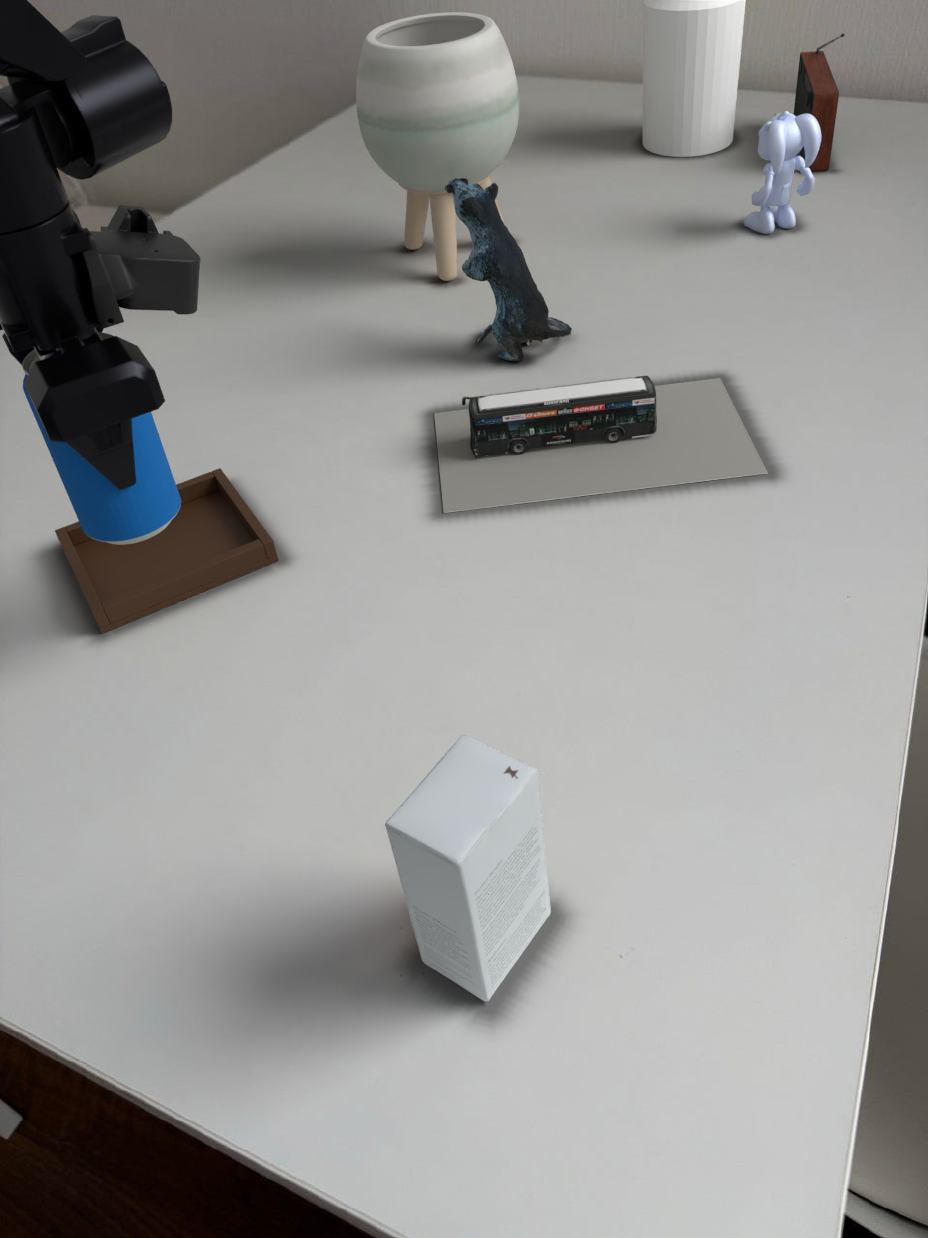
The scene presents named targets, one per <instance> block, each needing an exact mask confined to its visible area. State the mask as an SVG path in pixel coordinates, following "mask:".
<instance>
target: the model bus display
mask: <svg viewBox="0 0 928 1238" xmlns="http://www.w3.org/2000/svg"><path fill="white" fill-rule="evenodd" d="M467 400H469V402H468V408H466V409H465V408H464V409H459V410H451V411H450V410H449V411H443V412H434V413H433V414H434V415H433V416H434V426H435V438H436V448H437V459H438V469H439V470H438V471H439V481H440V490H441V501H442V512H443V514H447V513H455V512H462V511H471V510H472V511H473V510H480V509H488V508H495V507H504V506H514V505H521V504H528V503H538V502H545V501H546V502H547V501H554V500H563V499H570V498H579V497H586V496H592V495H593V496H594V495H603V494H611V493H619V492H627V491H635V490H643V489H652V488H659V487H668V486H675V485H677V486H678V485H684V484H691V483H692V484H693V483H699V482H709V481H715V480H716V481H717V480H724V479H725V480H726V479H734V478H740V477H741V478H742V477H749V476H757V475H764V474H768V473H769V471H768V470H767V467H766V466H765V464H764V462H763V460H762V458H761V456H760V455H759V452H758V450H757V448H756V446H755V445H754V442H753V440H752V439H751V437H750V435H749V433H748V431H747V429H746V427H745V424H744V422H743V421H742V419H741V417H740V415H739V413H738V411H737V408H736V407H735V404H734V403H733V401H732V399H731V397H730V395H729V392H728V391H727V388H726V386H725V385H724V383H723V381H722V379H721V377H716V378H709V379H708V378H707V379H700V380H693V381H685V382H677V383H676V382H675V383H669V384H668V383H666V384H661V385H660V384H659V385H655V384H654V382H653V381H652V379H651V378H650V376H649V375H640V376H628V377H622V378H621V377H620V378H612V379H604V380H596V381H590V382H589V381H588V382H580V383H572V384H564V385H557V386H556V385H555V386H548V387H541V388H533V389H524V390H517V391H509V392H501V393H493V394H486V395H479V396H463V397H462V398H461V405H462V406H466V401H467Z"/></svg>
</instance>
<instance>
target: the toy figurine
mask: <svg viewBox="0 0 928 1238" xmlns="http://www.w3.org/2000/svg"><path fill="white" fill-rule="evenodd" d="M793 114H794V113H793ZM793 114H792V113H791V112H789V111H788V110H785V111H782V112H779V113H775V114H774V115H771V116H770V117H769V119H768V120H767V121H766V122H765V123H763V125H762V126H761V128H760V129H759V130H758V134H757V135H758V146H757V154H758V156H759V157H760V158H761V159H763V160H766V161H769V162H767V163H766V164H764V166H763V170H762V172H763V175H764V185H763V186H762V187H761V188H760V189H759V190H758V191H754V192H753V193H752V194H751V204H752V205H753V206H756V207H760V210H759V211H752V212H750V213H748V214H747V215H746V217H745V218H744V221H743V225H744V227H746V228H749V229H750V230H752V231H755V232H756V233H759V234H763V235H770V234H772V233H773V232H774V231H775V228H776V226H775V225H776V224H777V226H778V227H779V228H782V229H793V228H794V227H795V226H796V224H797V220H796V219H797V218H796V214H795V211H794V209H793V207H792V206H791V205H790V201H791V193H792V186H793V176H794V173H795V171H799V172H800V173H801V175H803V177H804V178H803V180H802V181H801V183H800V184H799V185H798V187H796V193H797V195H798V196H800V197H803V196H806V195H809V194H810V193H811V192H812V191H813V190H814V188H815V184H816V180H815V176H814V174H813V172H812V171H811V170H810V169H809V168H808V167H809V166H810V165H811V164H812V163H813V162H814V160H815V158H816V156H817V154H818V151H819V148H820V143H821V130H820V126H819V124H818V121H817V120H816V118H815V117H814V116H813V115H811V114H801V115H799V116H797V117H796V116H795V115H793ZM803 146H804V150H805V161H804V159H803V158H802V157H801V155H798V154H800V151H801V149H802V148H803Z"/></svg>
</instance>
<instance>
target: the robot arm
mask: <svg viewBox="0 0 928 1238" xmlns="http://www.w3.org/2000/svg"><path fill="white" fill-rule="evenodd" d="M0 77H6V78H7V83H8V85H5V86H2V87H1V88H0V331H3V332H4V333H2V335H1V337H2V339H3V341H4V343H5V345H6V348H7V350H8V352H9V353H10V354H11V356H12V357H13V358H14V360H16V361H17V362H18V363H19V364H20V365H21V366H22V363H23V360H24V359H25V357H26V356H27V355H28V354H29V353H30V352H31V351H33V350H34V349H35V351H36V353H37V355H38V357H39V359H40V361H37V362H35V363H34V365H33V367H32V369H31V371H30V373H29V375H28V377H27V379H26V381H25V383H24V384H25V387H26V389H27V391H28V393H29V396H30V398H31V400H32V402H33V405H34V407H35V409H36V411H37V413H38V415H39V418H40V420H41V422H42V424H43V426H44V428H45V430H46V433H47V435H48V437H49V439H50V441H52V442H65V443H66V444H67V445H69V446H70V447H71V448H72V449H73V450H75V451H76V452H77V453H78V454H79V455H80V456H82V457H83V458H84V459H85V460H86V461H87V462H89V463H90V464H91V465H92V466H93V467H94V468H95V469H96V470H98V471H99V472H100V473H101V474H102V475H103V476H104V477H105V478H107V479H108V480H109V481H110V482H111V483H112V484H113V485H114V486H116V487H117V488H118V489H120V490H122V489H125V488H128V487H130V486H133V485H135V483H136V473H135V460H134V448H133V435H132V418H135V417H137V416H140V415H143V414H146V413H149V412H151V413H153V412H155V411H157V410H159V409H160V408H161V407H162V405H164V403H165V402H166V398H165V395H164V393H163V390H162V388H161V384H160V381H159V378H158V375H157V373H156V370H155V368H154V367H153V366H152V364H151V363H150V361H149V360H148V359H147V357H146V356H145V354H144V352H143V351H142V350H141V349H140V347H139V346H138V345H137V344H135V343H133V342H130V341H128V340H127V339H124V338H121V337H120V336H117V335H113V336H114V337H110V338H107V339H104V340H103V339H102V337H101V336H100V334H99V333H98V332H102V333H103V331H104V329H107V328H111V327H114V326H116V325H119V324H123V323H125V319H124V317H123V313H122V311H121V309H124V310H125V309H126V310H131V311H132V310H133V311H160V312H161V311H165V312H168V311H169V312H174V313H175V314H176V315H193V314H195V313H197V311H198V301H199V300H198V298H199V288H200V287H199V285H200V269H201V268H200V266H201V256H200V255H199V254H198V252H196V250H195V249H193V247H192V246H191V245H190V244H189V243H188V242H187V241H186V240H185V239H184V238H182V237H180V236H177V235H174V234H173V233H172V232H171V231H170V230H163V231H162V233H161V232H160V233H159V231H158V228H157V226H156V224H155V221H154V219H153V217H152V215H151V214H150V213H149V212H148V211H147V210H146V209H145V208H144V207H143V206H135V205H123V204H119V205H118V206H117V208H116V210H115V212H114V214H113V215H112V217H111V219H110V221H109V223H108V225H107V226H103V225H102V226H100V230H98V231H97V230H90V229H88V227H84V228H83V226H82V224H81V221H80V218H79V216H78V214H77V213H76V211H75V210H74V209H73V208H72V205H71V203H70V200H69V198H68V195H67V192H66V190H65V186H64V184H63V181H62V179H61V178H62V177H61V175H60V173H59V171H60V172H62V173H63V174H64V175H66V176H69V177H71V178H73V179H76V180H87V179H91V178H94V177H95V176H97V175H99V174H101V173H102V172H103V173H104V171H107V170H109V169H110V168H113V167H115V166H116V165H119V164H121V163H122V162H125V161H126V160H128V159H130V158H132V157H134V156H136V155H138V154H139V153H141V152H144V151H147V149H150V148H152V147H153V146H155V145H157V144H159V143H161V142H162V141H164V140H165V139H166V138H167V136H168V134H169V133H170V131H171V128H172V123H173V105H172V100H171V95H170V92H169V89H168V85H167V83H165V81H163V80H162V79H161V77H160V75H159V73H158V71H157V69H156V68H155V67H154V65H153V64H152V63H151V61H150V59H149V58H148V57H147V56H146V55H145V54H144V52H142V51H141V49H140V48H138V46H135V44H133V43H132V42H131V41H129V40H127V37H126V34H125V30H124V28H123V23H122V21H121V19H120V18H119V17H118V16H116V15H115V16H114V15H113V16H112V15H98V14H97V15H95V14H91V15H89V16H86V17H84V18H81V19H79V20H78V21H76V22H74V23H73V24H72V25H71V26H70V27H68V28H67V29H65V30H63V31H60V30H59V29H58V28H57V27H56V26H55V25H54V24H53V23H51V21H50V20H49V19H47V18H46V16H44V15H43V14H42V12H40V11H39V10H38V9H37V8H36V7H35V6H34V5H32V3H31V2H30V1H29V0H0ZM120 308H121V309H120ZM80 341H82V342H83V344H84V345H85V346H83V345H82V344H81V342H80ZM57 348H59V349H60V350H61V352H62V354H58V352H57V350H56V349H57Z"/></svg>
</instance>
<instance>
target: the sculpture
mask: <svg viewBox="0 0 928 1238" xmlns="http://www.w3.org/2000/svg"><path fill="white" fill-rule="evenodd" d="M491 183H492V184H491V185H490V186H489V187H487V188H485V190H484V189H483V188H482V187H481V186H480V185H479V184H477V183H476V184H472V185H468V180H467V179H466V178H460V179H457V178H455V179H452V180H450V181H449V182H448V185H446V186H445V190H446V191H447V193H452V194H453V199H454V206H455V213H456V217H457V218H458V219H459V220H460V221H461V222H462V223H463V224H464V225H465V226H466V228H467V230H468V231H469V234H470V238H471V246H472V248H471V251H470V253H469V255H468V258H467V259H465V261H464V263H462V264H461V270H462V272H463V274H465V276H466V277H467V278H469V279H472V280H474V281H478V282H486V281H487V282H488V283H489V286H490V288H491V291H492V293H493V296H494V299H495V300H494V301H495V307H496V311H495V315H494V318H493V322H492V323H491V324H489V325H488V326H487V327H486V328H485V329H484V331H483V332H482V333H481V335H479V338H478V339H477V344H479V345H480V344H481V342H483V340H484V339H485V338H486V337H487V336H489V334H490V333H491V332H492V335H493V336H494V339H495V341H496V343H498V344H499V345H500V346H501V347H502V348H503V350H505V351H504V352H500V354H499V355H498V356H497V357H498V358H500V359H501V360H504V361H510V362H522V361H524V357H525V356H524V350H523V347H522V343H524V344H527V345H528V346H530V344H532V342H533V341H538V342H539V343H541V344H542V343H543V342H544V341H546V340H549V339H555V338H556V339H557V338H565V337H570V336H571V334H572V330H573V328H572V327H571V325H569V324H568V323H566V322H564V321H562V320H559V319H557V318H555V317H553V316H552V317H550V316H549V312H550V311H549V307H548V304H547V303H546V300H545V297H544V296H543V294H542V293H541V291H540V290H539V288H538V286H537V283H536V282H535V280H534V278H533V276H532V273H531V271H530V269H529V266H528V264H527V260H526V258H525V256H524V253H523V250H522V249H521V247H520V246H519V244H518V243H517V240H516V239H515V238H514V236H513V235H512V233H511V232H510V231H509V229H508V227H507V226H506V224H505V225H504V223H505V222H504V223H503V221H502V219H501V217H500V214H499V211H498V208H497V205H496V203H495V199H497V197H498V194H499V186H498V184H497V183H496V182H491ZM551 327H555V328H557V329H553V328H551Z"/></svg>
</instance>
